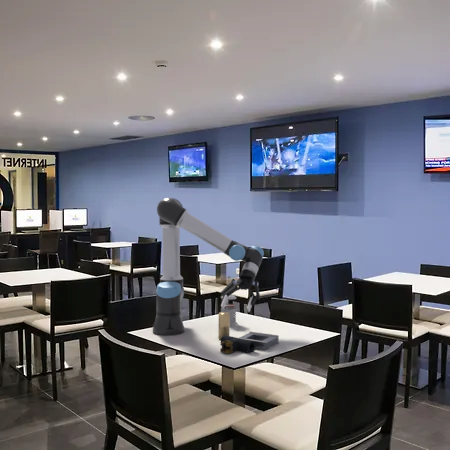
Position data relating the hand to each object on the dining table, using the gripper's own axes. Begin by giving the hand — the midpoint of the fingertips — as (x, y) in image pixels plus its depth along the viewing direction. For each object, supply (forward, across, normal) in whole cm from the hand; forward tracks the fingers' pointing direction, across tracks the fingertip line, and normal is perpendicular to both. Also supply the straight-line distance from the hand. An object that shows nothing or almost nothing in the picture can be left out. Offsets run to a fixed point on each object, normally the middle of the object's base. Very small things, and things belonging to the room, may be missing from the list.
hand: (234, 308), depth 241 cm
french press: (-6, +15, -24) cm, 29 cm away
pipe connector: (+26, -11, +8) cm, 29 cm away
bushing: (+15, +1, -2) cm, 15 cm away
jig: (+15, -16, -2) cm, 22 cm away
